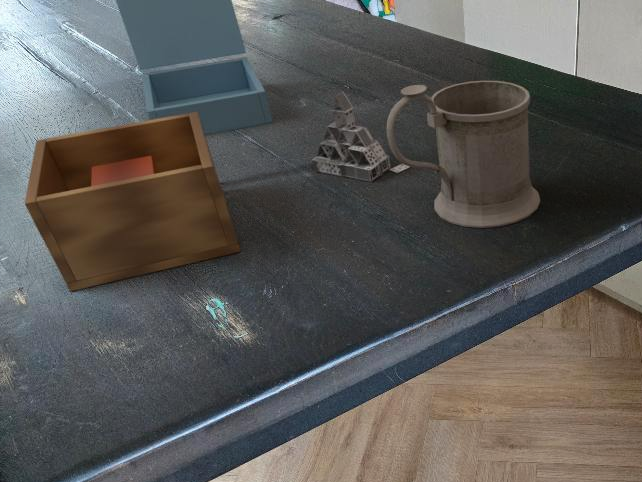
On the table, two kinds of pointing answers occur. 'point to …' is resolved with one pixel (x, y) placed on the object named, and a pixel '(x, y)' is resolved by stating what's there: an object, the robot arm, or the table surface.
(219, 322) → the table surface
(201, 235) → the open wooden crate
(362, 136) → the house of cards
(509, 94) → the mug
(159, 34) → the lid
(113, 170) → the block
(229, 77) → the box
